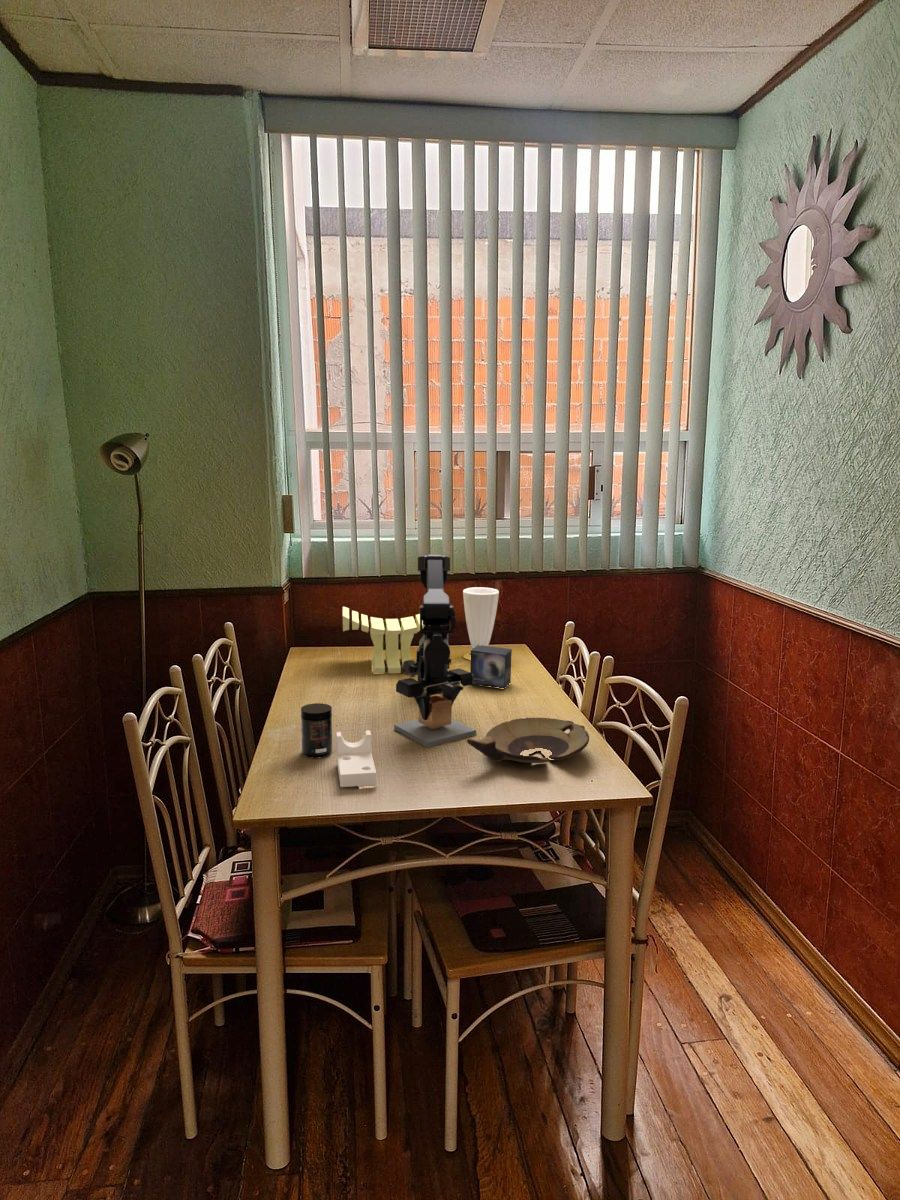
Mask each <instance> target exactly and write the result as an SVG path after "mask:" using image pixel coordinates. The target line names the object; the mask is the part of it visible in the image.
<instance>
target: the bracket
mask: <svg viewBox="0 0 900 1200" xmlns="http://www.w3.org/2000/svg"><path fill="white" fill-rule="evenodd" d="M371 733H372V732H371V730H370V729H369V730H368V729H367V730H365V732H364V736H363V737H362V739H360V740H358V741H356V742H349V741H348V740H345V738H344V737H343V735H342V732H341V731H337V732H336V733H335V734H336V765H337V773H338V779H339V785H340V788H347V787H364V786H376V787H377V770H376V765H375V762H374V759H373V755H372V754H373V753H372V734H371Z"/></svg>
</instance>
